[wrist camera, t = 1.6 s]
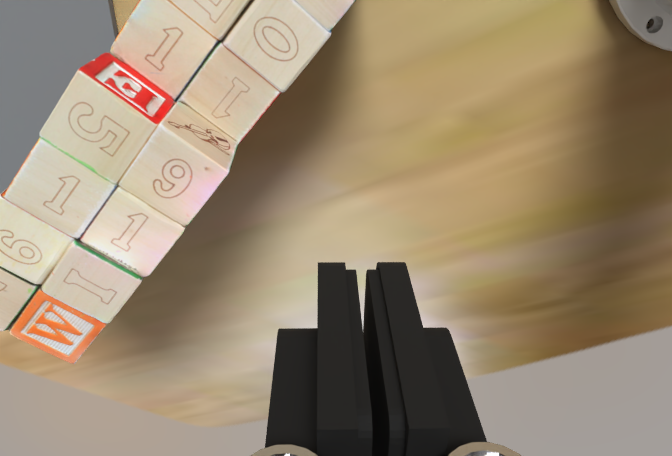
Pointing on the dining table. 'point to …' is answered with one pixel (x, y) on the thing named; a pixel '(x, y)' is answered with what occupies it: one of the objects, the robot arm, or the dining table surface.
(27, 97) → the mat
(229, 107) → the stack of blocks
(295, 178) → the dining table surface
